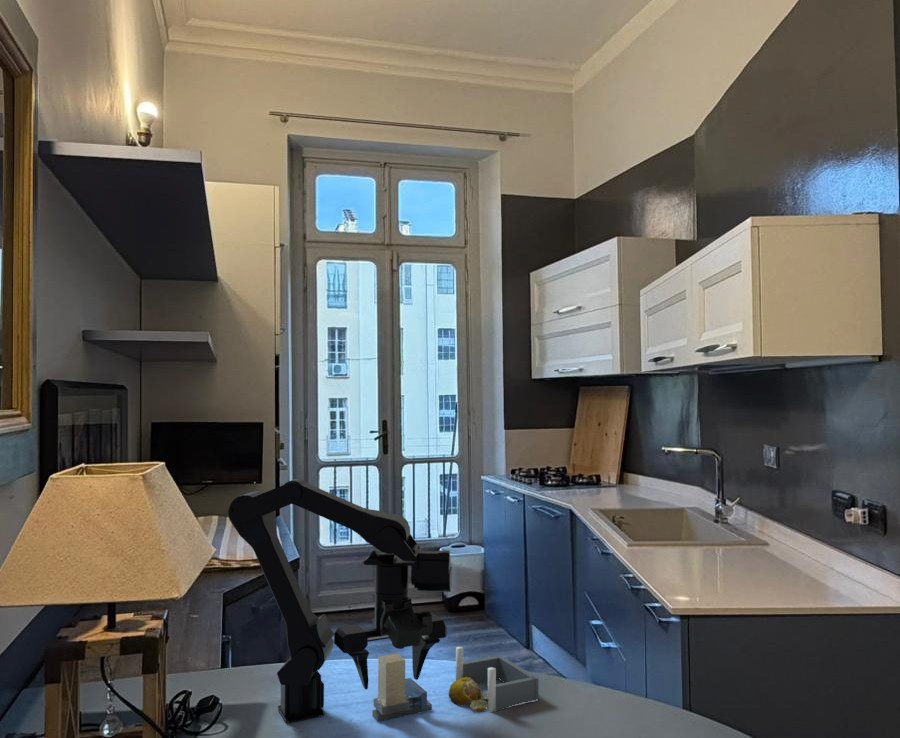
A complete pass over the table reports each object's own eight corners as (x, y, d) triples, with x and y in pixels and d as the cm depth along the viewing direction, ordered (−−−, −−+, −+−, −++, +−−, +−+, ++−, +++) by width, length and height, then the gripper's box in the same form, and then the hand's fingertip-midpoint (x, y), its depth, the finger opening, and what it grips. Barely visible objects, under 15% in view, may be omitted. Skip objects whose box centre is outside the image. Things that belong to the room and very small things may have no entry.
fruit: (483, 715, 120) (483, 693, 120) (439, 706, 123) (439, 685, 123) (501, 697, 127) (501, 676, 127) (459, 689, 131) (459, 669, 131)
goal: (490, 712, 120) (490, 670, 120) (454, 685, 132) (454, 647, 132) (539, 701, 125) (538, 661, 125) (500, 676, 136) (500, 639, 137)
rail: (377, 721, 117) (377, 715, 117) (372, 716, 119) (372, 710, 119) (431, 710, 121) (431, 704, 121) (426, 704, 123) (426, 699, 123)
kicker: (385, 718, 115) (385, 667, 115) (370, 702, 121) (370, 654, 122) (427, 709, 118) (427, 660, 119) (410, 694, 124) (410, 647, 125)
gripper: (355, 609, 109) (354, 712, 108) (461, 595, 117) (461, 690, 116) (333, 592, 119) (332, 687, 118) (433, 580, 127) (432, 668, 126)
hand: (391, 683), depth 119 cm, fingers open, 9 cm apart
